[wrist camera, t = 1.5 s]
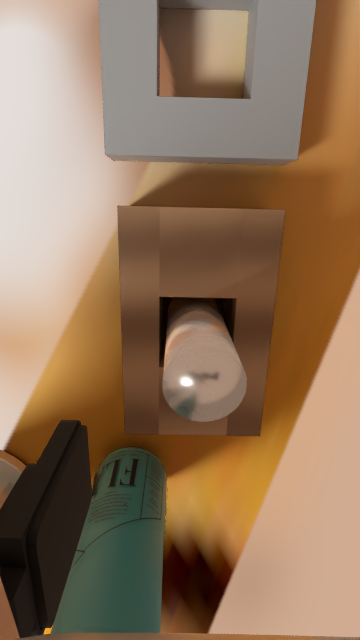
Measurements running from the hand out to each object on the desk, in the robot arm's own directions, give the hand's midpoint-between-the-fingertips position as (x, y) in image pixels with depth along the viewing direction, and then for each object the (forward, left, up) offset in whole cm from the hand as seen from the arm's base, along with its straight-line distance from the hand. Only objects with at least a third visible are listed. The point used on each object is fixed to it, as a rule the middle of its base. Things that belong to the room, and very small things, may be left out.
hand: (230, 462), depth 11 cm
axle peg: (0, 0, -18) cm, 18 cm away
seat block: (+17, 0, -18) cm, 24 cm away
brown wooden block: (0, 0, -18) cm, 18 cm away
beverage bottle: (-15, +5, -18) cm, 24 cm away
